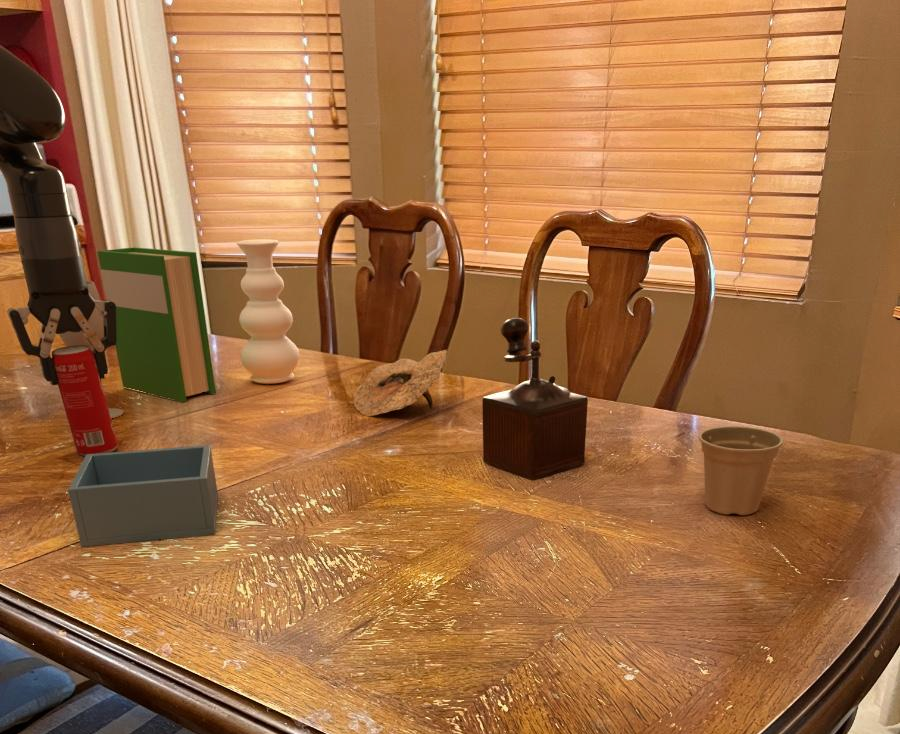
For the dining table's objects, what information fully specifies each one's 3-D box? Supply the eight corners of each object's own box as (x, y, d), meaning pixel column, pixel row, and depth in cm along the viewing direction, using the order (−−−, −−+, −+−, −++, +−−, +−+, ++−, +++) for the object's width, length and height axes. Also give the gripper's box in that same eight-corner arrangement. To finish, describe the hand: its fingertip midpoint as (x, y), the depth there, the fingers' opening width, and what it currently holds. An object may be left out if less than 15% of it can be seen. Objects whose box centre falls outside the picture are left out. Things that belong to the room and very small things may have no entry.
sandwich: (356, 450, 146) (333, 412, 142) (382, 408, 156) (362, 371, 152) (447, 421, 137) (426, 379, 133) (469, 378, 147) (449, 338, 143)
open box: (81, 547, 96) (67, 489, 93) (97, 506, 107) (86, 454, 104) (215, 534, 98) (206, 478, 95) (218, 496, 109) (210, 444, 106)
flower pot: (679, 512, 102) (687, 442, 98) (703, 488, 109) (712, 421, 105) (760, 527, 98) (772, 454, 94) (780, 501, 105) (791, 432, 101)
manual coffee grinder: (590, 463, 119) (598, 328, 110) (532, 481, 112) (536, 340, 104) (514, 438, 129) (516, 314, 121) (457, 453, 123) (455, 324, 115)
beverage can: (125, 451, 127) (106, 347, 120) (82, 461, 123) (60, 354, 116) (106, 442, 131) (87, 341, 124) (64, 452, 127) (42, 348, 120)
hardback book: (215, 393, 156) (195, 252, 145) (182, 402, 151) (158, 256, 140) (157, 380, 166) (133, 247, 155) (123, 388, 161) (97, 251, 150)
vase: (233, 380, 165) (214, 240, 153) (281, 371, 171) (267, 236, 160) (263, 390, 158) (246, 244, 146) (312, 380, 164) (300, 239, 153)
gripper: (100, 248, 120) (123, 369, 128) (-13, 254, 113) (18, 382, 121) (113, 252, 114) (135, 379, 122) (-5, 259, 108) (27, 393, 116)
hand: (77, 380), depth 122 cm, fingers closed on beverage can, 5 cm apart
